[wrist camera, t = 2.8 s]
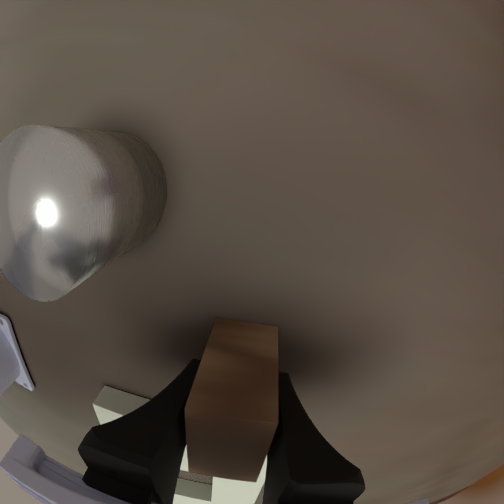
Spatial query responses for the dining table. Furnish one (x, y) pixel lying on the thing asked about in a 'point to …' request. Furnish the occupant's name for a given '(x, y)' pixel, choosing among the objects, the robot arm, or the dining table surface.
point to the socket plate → (187, 492)
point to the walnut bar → (233, 401)
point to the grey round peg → (73, 204)
